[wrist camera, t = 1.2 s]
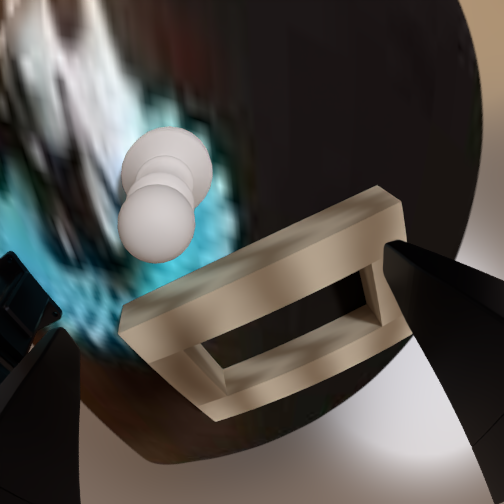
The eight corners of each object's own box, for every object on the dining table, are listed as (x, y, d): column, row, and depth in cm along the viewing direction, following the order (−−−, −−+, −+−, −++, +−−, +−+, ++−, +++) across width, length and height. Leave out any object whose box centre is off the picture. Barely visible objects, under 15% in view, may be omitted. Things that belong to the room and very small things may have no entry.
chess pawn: (214, 127, 17) (238, 167, 9) (207, 209, 19) (224, 303, 12) (126, 125, 16) (72, 166, 8) (126, 207, 18) (90, 301, 10)
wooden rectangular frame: (211, 397, 29) (215, 421, 26) (123, 305, 21) (117, 333, 19) (397, 312, 28) (412, 333, 25) (377, 185, 20) (401, 201, 18)
